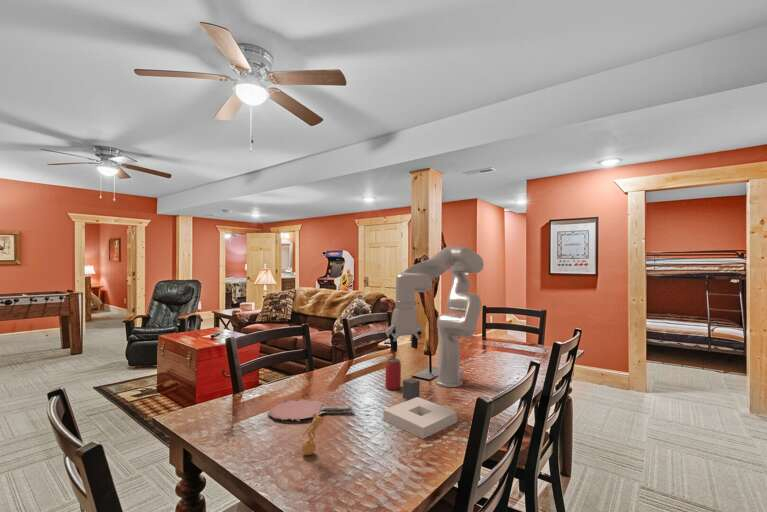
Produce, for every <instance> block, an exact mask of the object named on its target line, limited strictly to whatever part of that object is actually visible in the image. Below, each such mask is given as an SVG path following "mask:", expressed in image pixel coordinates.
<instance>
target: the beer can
mask: <svg viewBox="0 0 767 512" xmlns="http://www.w3.org/2000/svg"><path fill="white" fill-rule="evenodd" d="M401 368H402V364H401V361H400V359H399V358H388V359H387V360H386V363H385V385H384V386H385V388H386V389H387V390H389V391H397V390H399V389H400V388H401V382H402V381H401V380H402V379H401V378H402V377H401V376H402V374H401V373H402V372H401V371H402V369H401Z"/></svg>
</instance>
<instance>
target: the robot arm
mask: <svg viewBox="0 0 767 512" xmlns="http://www.w3.org/2000/svg"><path fill="white" fill-rule="evenodd" d="M448 270H449V272H450V275H451V281H452V282H451V286H450V289H449V292H448V296H447V299H446V309H448V311H450V312H452V313H450V312H444V313H441V314H440V315H439V316H438V317H437V321H436V327H437V335H438V360H437V361H438V363H437V364H438V368H437V369H438V370H437V371H438V372H437V377H435V378H434V383H435V384H436V385H438V386H440V387H445V388H458V387H461V386H463V384H464V383H463V379H461V377H463V376H464V375H465V372H464V371H463V370H461V371H460V365H461V364H460V363H461V362H460V359H461V356H460V355H461V344H460V340H459V338H458V337H460V338H471V337H472V336H474V334H475V332H476V329H477V326H478V321H479V318H480V314H481V309H482V300H481V297H480V296H479V295H478V294H476V293H473V292H472V293H471V292H470V288H471V282H470V280H469V278H468V277H467V275H466V274H478V273H481V272H482V271H483V270H484V260H483V258H482V256H481V255H480V254H478V253H477V252H475V250H472V249H471V248H468V247H467V246H447V247H444V248H442V249H441V250H440V251H438V252H437V253H435V255H433V256H432V257H431V258H428V259H426V260H424V261H420V262H418V263H415V264H414V265H411V266H409V267H408V268H406V269H405V270H404V271H402V273H400V274H397V275H396V277H395V308H394V309H393V311H392V315H391V321H390V322H391V324H390V326H389V327H387V328H386V329H385V334H386V337H387V338H388V339H389V341H390V351H392V352H394V353H397V352H398V341H397V340H398V339H399V337H404V336H412V337H411V338H410V340H411V341H410V342H411V347H410V348H412V349H415V350H418V344H419V343H418V342H419V338H420V336H421V335H422V331H423V330H424V326H423V325H421V324H419V322H418V313H417V309H416V306H417V305H418V303H417V302H416V293H417V292H418V293H425V292H428V291H429V290H430V289H431V288H432V286H433V279H432V278H437V277H440V276H442V275H444V273H446V272H447V271H448ZM458 313H460V314H458Z"/></svg>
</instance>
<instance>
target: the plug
mask: <svg viewBox="0 0 767 512" xmlns="http://www.w3.org/2000/svg"><path fill="white" fill-rule="evenodd" d="M420 384H421V383H420V380H418V379H416V378H412V377H410V378H407V379H403V381H402V399H404V400H405V401H408V400H411V399H413V398H416V397H419V398H420V390H421V389H420Z"/></svg>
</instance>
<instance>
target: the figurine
mask: <svg viewBox="0 0 767 512" xmlns="http://www.w3.org/2000/svg"><path fill="white" fill-rule="evenodd" d="M312 418H313V420H311V423H310V425H309V426H308V428H307V429H306V430H304V432H303V434H302V437H304V436H305V435H306V434H307V435H308V438H309V439H306V440H304V441H303V442H302V444H301V452H302V454H304V455H305V456H311V455H313V454H314V453H315V451H316V447H317V446H316V445H317V444H316V442H315V441H314V439H315V437H316V433H315V432H316V431H317V430H318V428H319V425H323V423H324V421H325V417H323V416H321V415H317V414H316V413H314V414H313V417H312ZM311 434H312V435H311Z"/></svg>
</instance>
